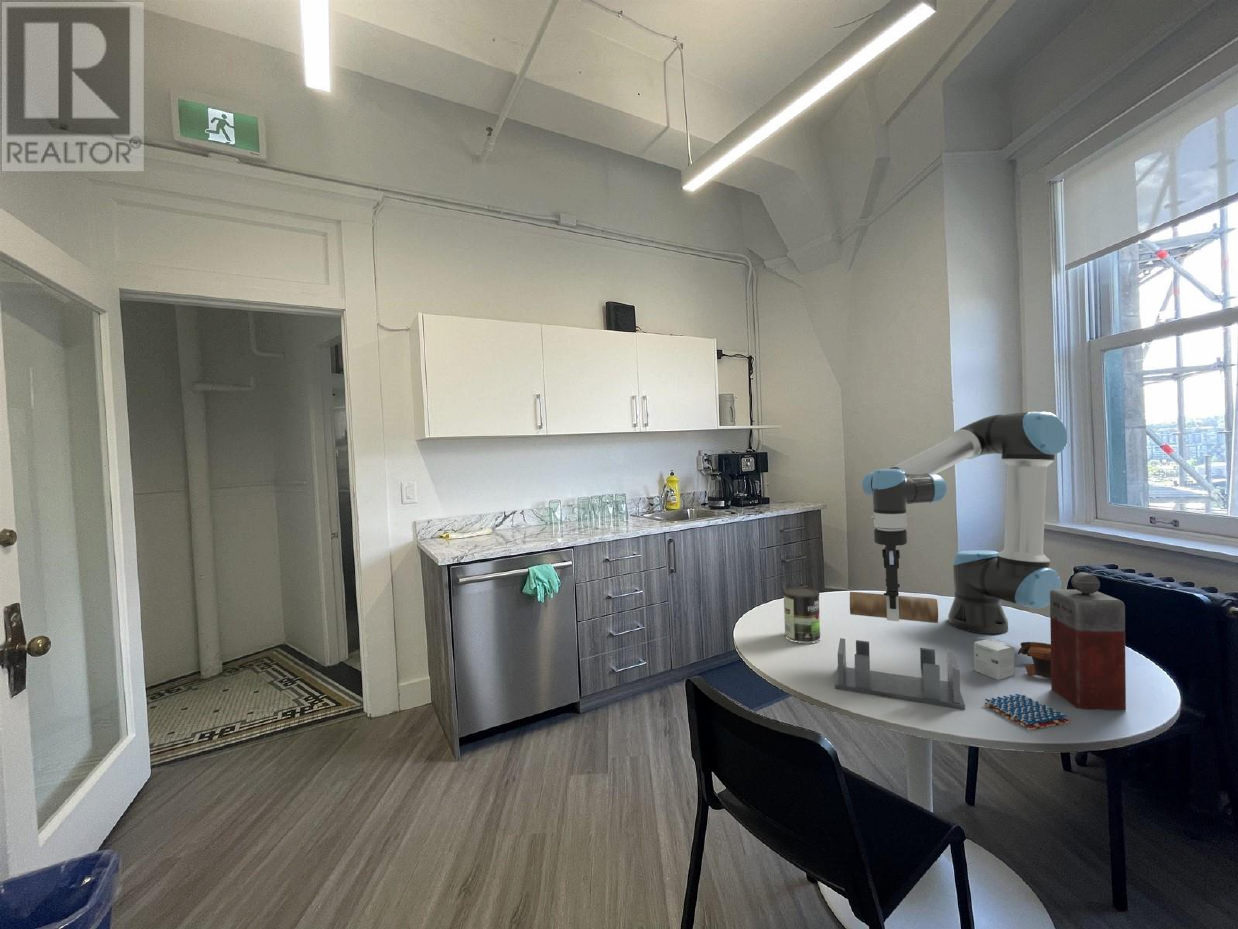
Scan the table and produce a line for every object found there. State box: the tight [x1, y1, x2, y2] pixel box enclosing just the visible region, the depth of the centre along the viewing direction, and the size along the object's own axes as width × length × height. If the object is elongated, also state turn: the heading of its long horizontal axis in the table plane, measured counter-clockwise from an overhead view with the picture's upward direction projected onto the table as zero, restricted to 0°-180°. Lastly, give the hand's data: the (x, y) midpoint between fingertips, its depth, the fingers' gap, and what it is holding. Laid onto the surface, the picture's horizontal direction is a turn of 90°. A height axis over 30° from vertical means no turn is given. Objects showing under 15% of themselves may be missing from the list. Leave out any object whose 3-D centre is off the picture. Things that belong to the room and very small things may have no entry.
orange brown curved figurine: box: [1016, 641, 1051, 679], centre depth 125 cm, size 12×10×8 cm
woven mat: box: [984, 693, 1070, 731], centre depth 107 cm, size 10×11×2 cm
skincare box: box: [973, 638, 1015, 681], centre depth 126 cm, size 6×6×7 cm
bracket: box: [834, 637, 966, 710], centre depth 121 cm, size 26×11×8 cm, turn 63°
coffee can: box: [782, 586, 821, 644], centre depth 154 cm, size 10×10×14 cm
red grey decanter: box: [1049, 572, 1127, 711], centre depth 113 cm, size 9×11×28 cm
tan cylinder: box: [849, 591, 939, 624], centre depth 133 cm, size 20×6×6 cm, turn 63°
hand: (892, 616), depth 133 cm, fingers closed on tan cylinder, 6 cm apart
